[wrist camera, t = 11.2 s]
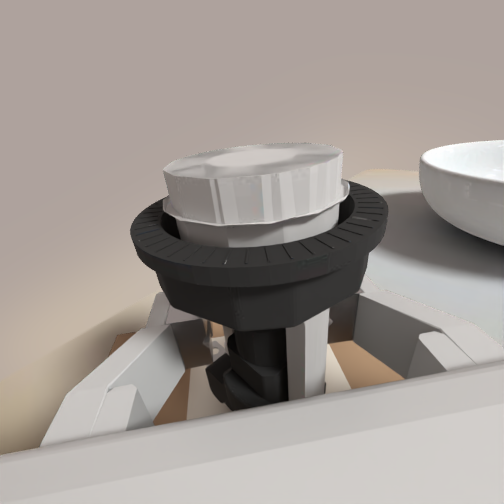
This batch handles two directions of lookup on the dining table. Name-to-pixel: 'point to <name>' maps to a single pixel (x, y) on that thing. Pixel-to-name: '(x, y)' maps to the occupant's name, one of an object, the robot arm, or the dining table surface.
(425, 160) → the serving bowl
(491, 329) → the dining table surface
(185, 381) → the brown board with label
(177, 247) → the push button
